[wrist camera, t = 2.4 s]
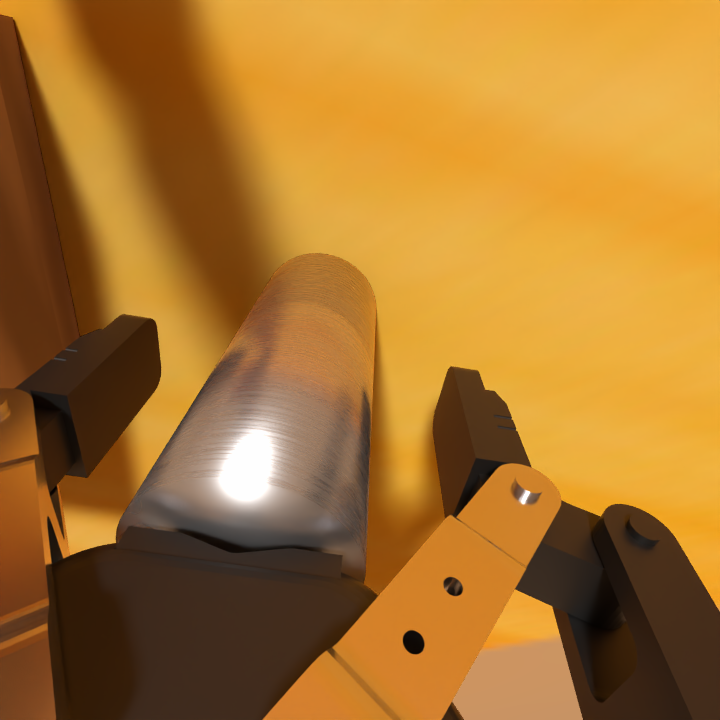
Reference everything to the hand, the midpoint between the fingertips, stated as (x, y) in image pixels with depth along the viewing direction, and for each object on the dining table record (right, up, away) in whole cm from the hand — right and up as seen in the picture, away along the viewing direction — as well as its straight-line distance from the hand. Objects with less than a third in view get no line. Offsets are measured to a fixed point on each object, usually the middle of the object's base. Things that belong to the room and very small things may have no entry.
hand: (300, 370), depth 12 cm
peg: (0, +2, +4) cm, 4 cm away
